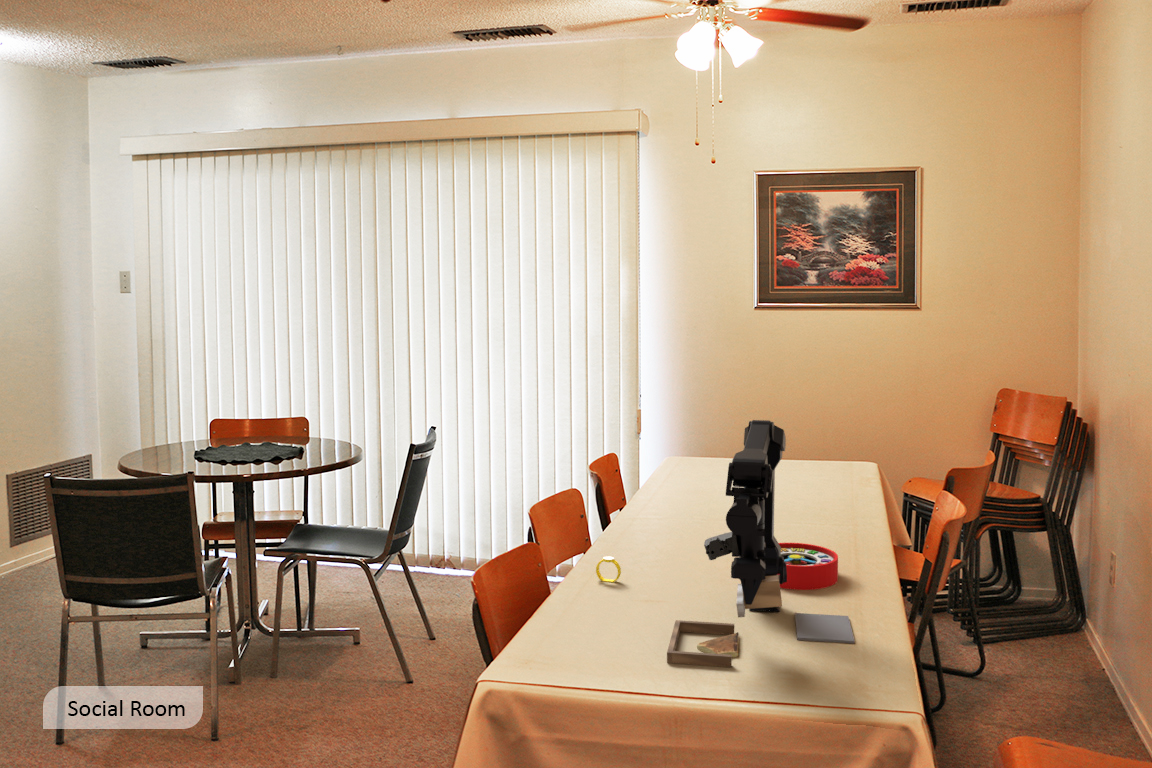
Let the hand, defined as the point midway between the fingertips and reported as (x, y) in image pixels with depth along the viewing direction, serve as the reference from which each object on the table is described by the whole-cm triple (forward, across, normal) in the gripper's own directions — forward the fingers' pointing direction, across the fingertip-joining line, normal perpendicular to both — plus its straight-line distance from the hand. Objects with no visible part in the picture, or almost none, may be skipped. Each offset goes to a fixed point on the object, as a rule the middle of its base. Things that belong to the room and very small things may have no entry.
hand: (748, 600), depth 174 cm
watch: (+10, -37, -34) cm, 51 cm away
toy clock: (+10, -48, +10) cm, 50 cm away
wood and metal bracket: (+1, 0, +3) cm, 3 cm away
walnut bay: (+10, 0, -9) cm, 13 cm away
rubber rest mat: (+10, -14, +15) cm, 23 cm away
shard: (+11, -1, -6) cm, 12 cm away
